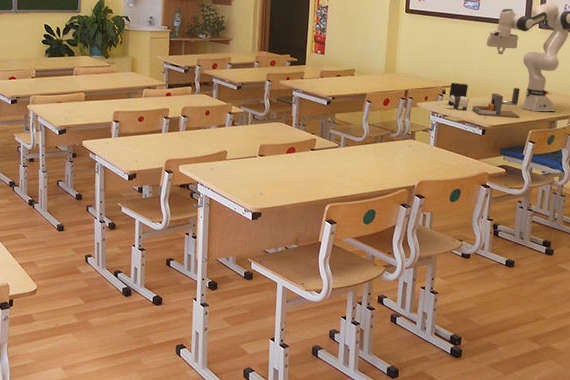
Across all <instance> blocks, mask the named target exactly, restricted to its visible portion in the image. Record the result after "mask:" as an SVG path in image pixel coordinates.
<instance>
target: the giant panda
mask: <svg viewBox="0 0 570 380" xmlns="http://www.w3.org/2000/svg"><path fill="white" fill-rule="evenodd" d="M446 100H447V101H448V102H449V101H450V102H453V103H454V106H453V108H454V109H456V111H457V110H459V107H461V110H462V111H467V109H468V105H469V101H470V99H469V98H467V96H466V97H454V95H453V96H450V97H447V98H446ZM454 109H453V110H454Z"/></svg>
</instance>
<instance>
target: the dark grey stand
mask: <svg viewBox="0 0 570 380" xmlns="http://www.w3.org/2000/svg"><path fill="white" fill-rule="evenodd" d="M503 98H504V96H503V95H501V94H499V93H492V94H491V101H490V103H492V104H493V105H494V110H493V111H487V110H488V106H483V105H473V106H472V109H471V110H472V112H474V113H476V114H477V115H479V116H485V117H486V116H487V117H500V118H501V117H502V118H514V119H515V118H517V119H520V116H519V115H518V114H517V113H515V112H513V111H512V110H509V111H508V110H502V107H503V106H502V105H503V104H502V101H504V100H503Z"/></svg>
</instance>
